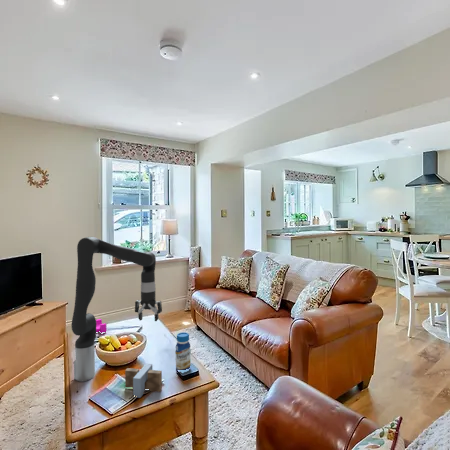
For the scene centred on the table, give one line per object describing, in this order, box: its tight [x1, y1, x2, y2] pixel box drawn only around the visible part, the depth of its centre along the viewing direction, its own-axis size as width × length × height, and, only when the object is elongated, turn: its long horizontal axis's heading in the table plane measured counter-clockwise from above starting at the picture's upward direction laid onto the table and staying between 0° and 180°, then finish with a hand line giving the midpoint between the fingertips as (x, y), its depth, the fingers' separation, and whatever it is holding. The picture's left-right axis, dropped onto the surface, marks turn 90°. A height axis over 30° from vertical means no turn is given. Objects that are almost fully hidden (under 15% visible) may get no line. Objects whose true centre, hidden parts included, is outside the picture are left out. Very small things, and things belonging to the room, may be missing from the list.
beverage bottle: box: [175, 331, 192, 371], centre depth 159 cm, size 8×8×20 cm
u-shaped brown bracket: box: [124, 367, 163, 393], centre depth 142 cm, size 18×2×9 cm, turn 81°
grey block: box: [132, 363, 153, 399], centre depth 142 cm, size 4×14×9 cm, turn 170°
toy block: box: [96, 318, 107, 333], centre depth 217 cm, size 15×6×8 cm, turn 39°
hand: (148, 320), depth 153 cm, fingers open, 8 cm apart
